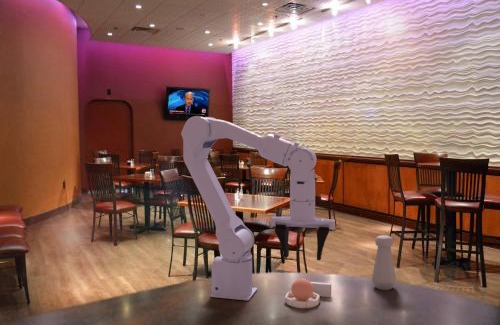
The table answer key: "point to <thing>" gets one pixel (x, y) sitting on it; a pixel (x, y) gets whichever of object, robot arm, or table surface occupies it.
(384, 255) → the salt shaker
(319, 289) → the wall
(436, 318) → the table surface
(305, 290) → the ball
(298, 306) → the coaster
